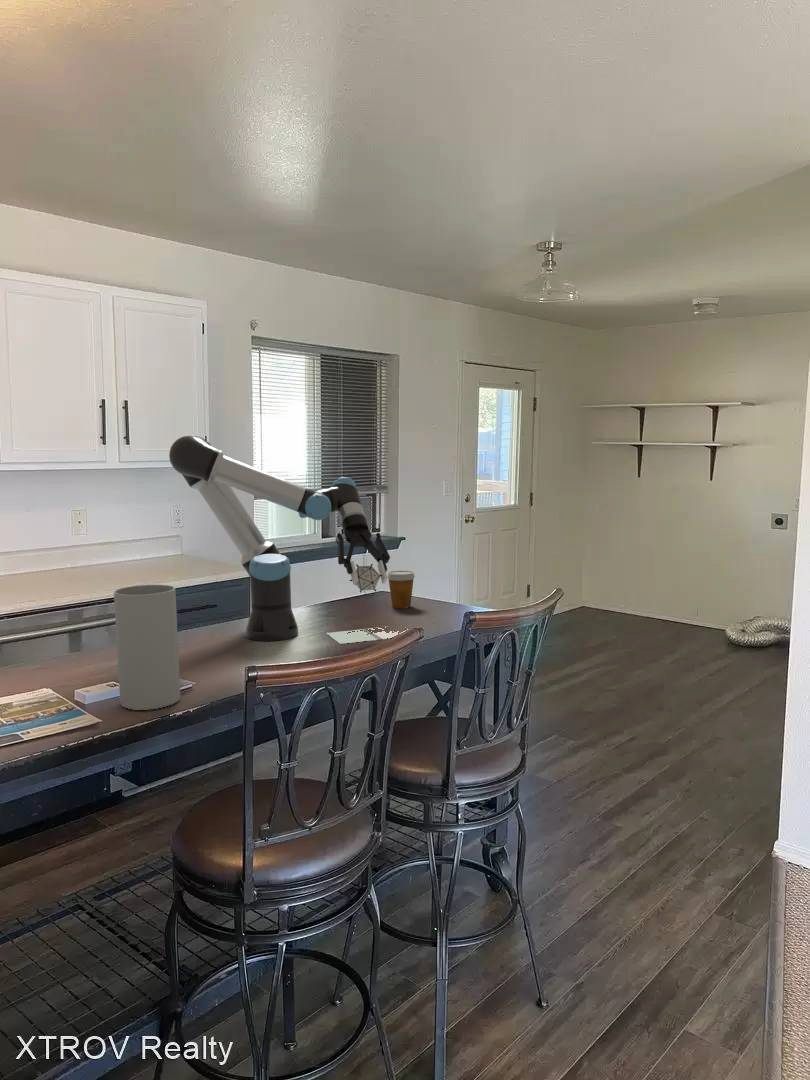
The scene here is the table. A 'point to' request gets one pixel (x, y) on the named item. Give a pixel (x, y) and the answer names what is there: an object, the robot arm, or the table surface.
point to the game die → (367, 577)
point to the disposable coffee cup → (401, 588)
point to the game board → (361, 636)
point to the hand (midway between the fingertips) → (370, 581)
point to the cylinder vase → (147, 646)
